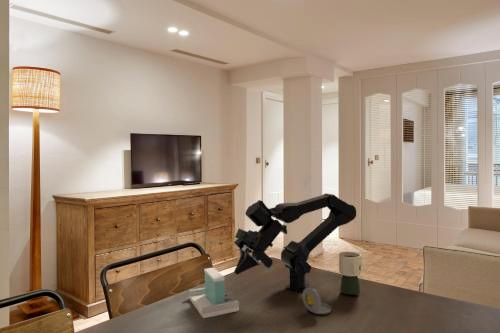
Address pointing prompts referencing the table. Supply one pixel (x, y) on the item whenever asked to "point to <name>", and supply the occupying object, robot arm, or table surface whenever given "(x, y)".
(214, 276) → the teal and cream panel
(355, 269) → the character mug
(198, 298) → the white slotted tray
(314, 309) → the pocket watch
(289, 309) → the table surface
